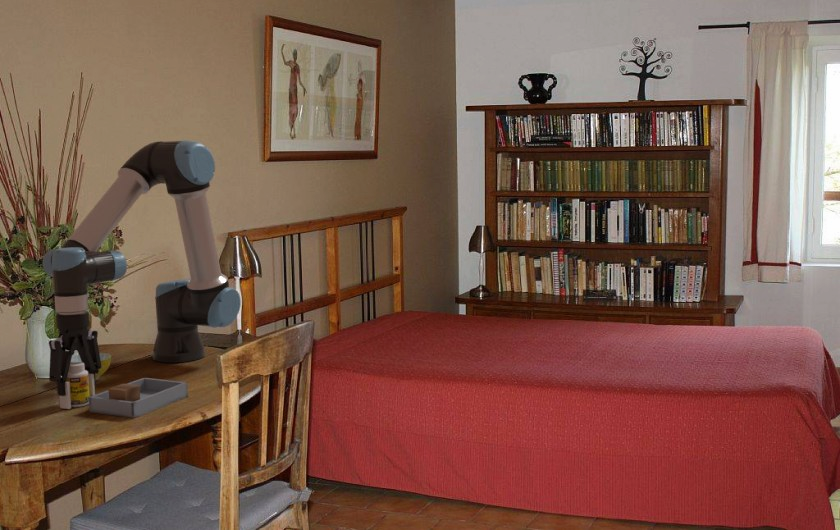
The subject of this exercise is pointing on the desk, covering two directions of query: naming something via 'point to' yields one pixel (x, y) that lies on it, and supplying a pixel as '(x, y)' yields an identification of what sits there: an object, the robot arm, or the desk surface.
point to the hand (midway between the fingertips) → (78, 403)
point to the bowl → (104, 363)
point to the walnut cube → (125, 392)
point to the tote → (151, 398)
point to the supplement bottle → (78, 384)
